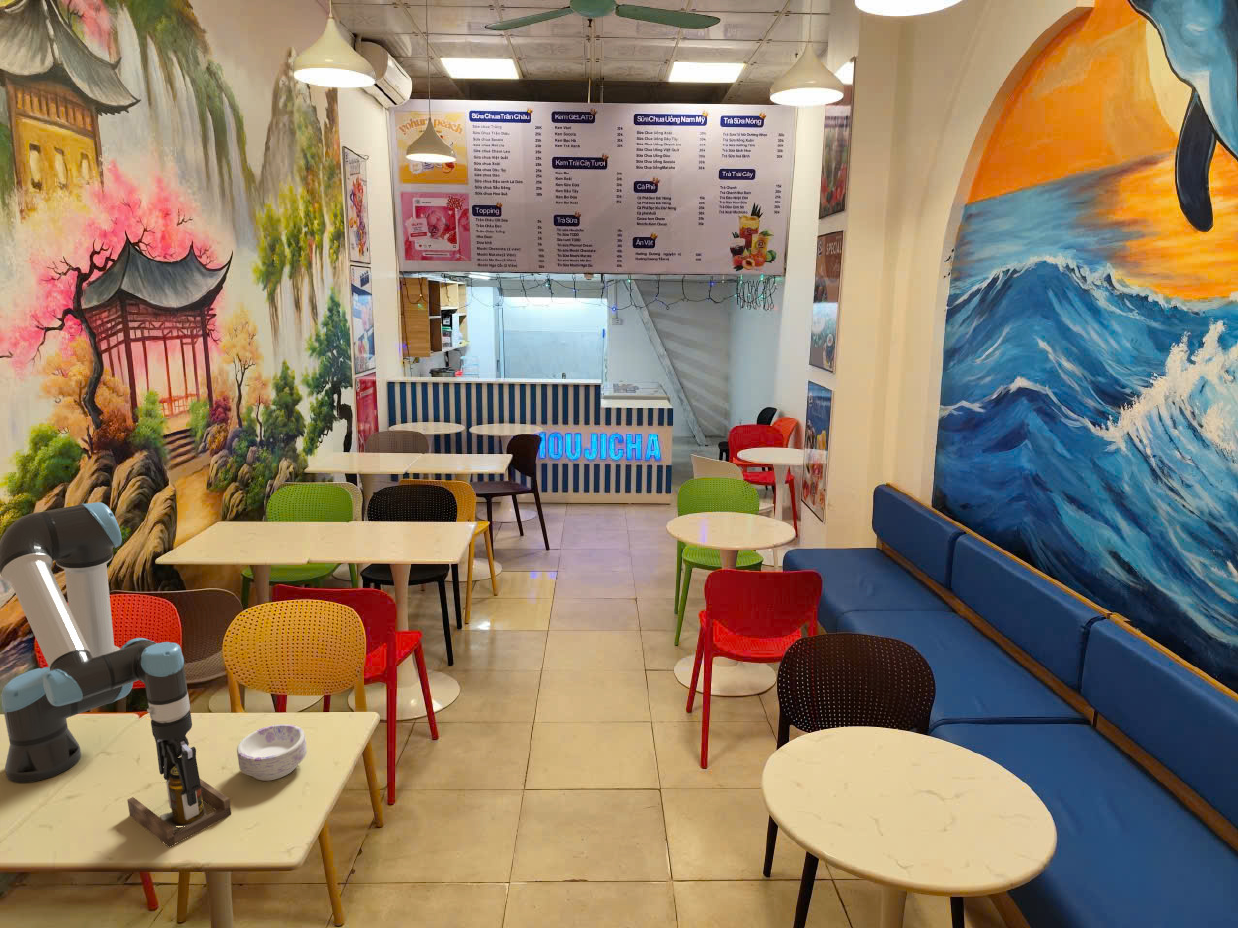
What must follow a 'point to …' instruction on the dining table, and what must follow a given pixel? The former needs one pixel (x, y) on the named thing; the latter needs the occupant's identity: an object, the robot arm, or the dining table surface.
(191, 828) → the walnut shelf lane
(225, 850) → the dining table surface
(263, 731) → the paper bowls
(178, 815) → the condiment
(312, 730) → the dining table surface
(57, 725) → the robot arm
